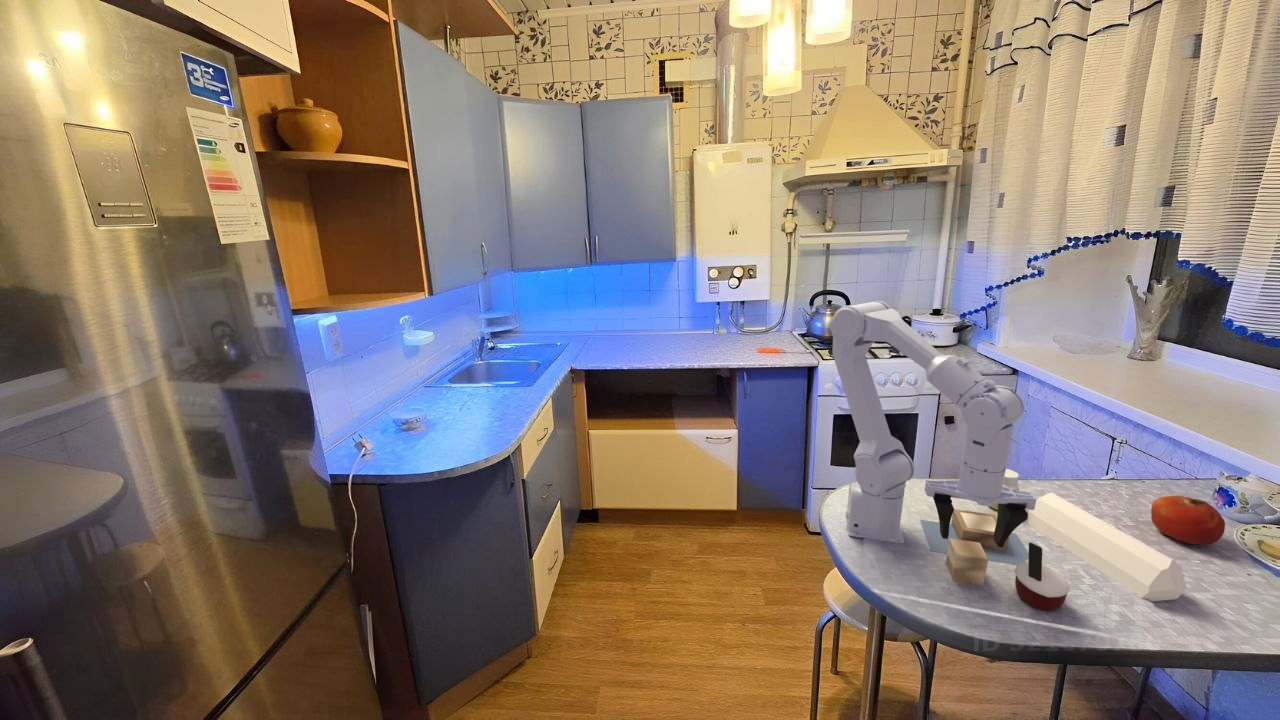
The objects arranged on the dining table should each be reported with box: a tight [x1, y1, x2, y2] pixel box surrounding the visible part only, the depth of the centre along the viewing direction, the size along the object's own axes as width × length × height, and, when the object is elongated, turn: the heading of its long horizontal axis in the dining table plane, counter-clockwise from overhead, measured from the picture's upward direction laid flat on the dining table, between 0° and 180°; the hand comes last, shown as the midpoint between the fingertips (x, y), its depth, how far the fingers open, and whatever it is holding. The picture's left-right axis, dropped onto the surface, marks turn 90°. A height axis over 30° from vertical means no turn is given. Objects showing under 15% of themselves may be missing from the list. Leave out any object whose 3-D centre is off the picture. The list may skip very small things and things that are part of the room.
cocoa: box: [1014, 542, 1071, 612], centre depth 75 cm, size 10×6×12 cm, turn 97°
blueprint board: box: [919, 519, 1029, 566], centre depth 90 cm, size 16×10×1 cm, turn 71°
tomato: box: [1150, 494, 1226, 546], centre depth 90 cm, size 9×9×8 cm
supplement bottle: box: [986, 468, 1020, 514], centre depth 99 cm, size 5×5×8 cm
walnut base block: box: [950, 508, 1009, 551], centre depth 91 cm, size 7×7×3 cm
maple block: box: [945, 538, 989, 587], centre depth 82 cm, size 4×4×6 cm
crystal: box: [1027, 492, 1188, 602], centre depth 86 cm, size 7×7×24 cm
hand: (970, 539), depth 81 cm, fingers open, 7 cm apart
